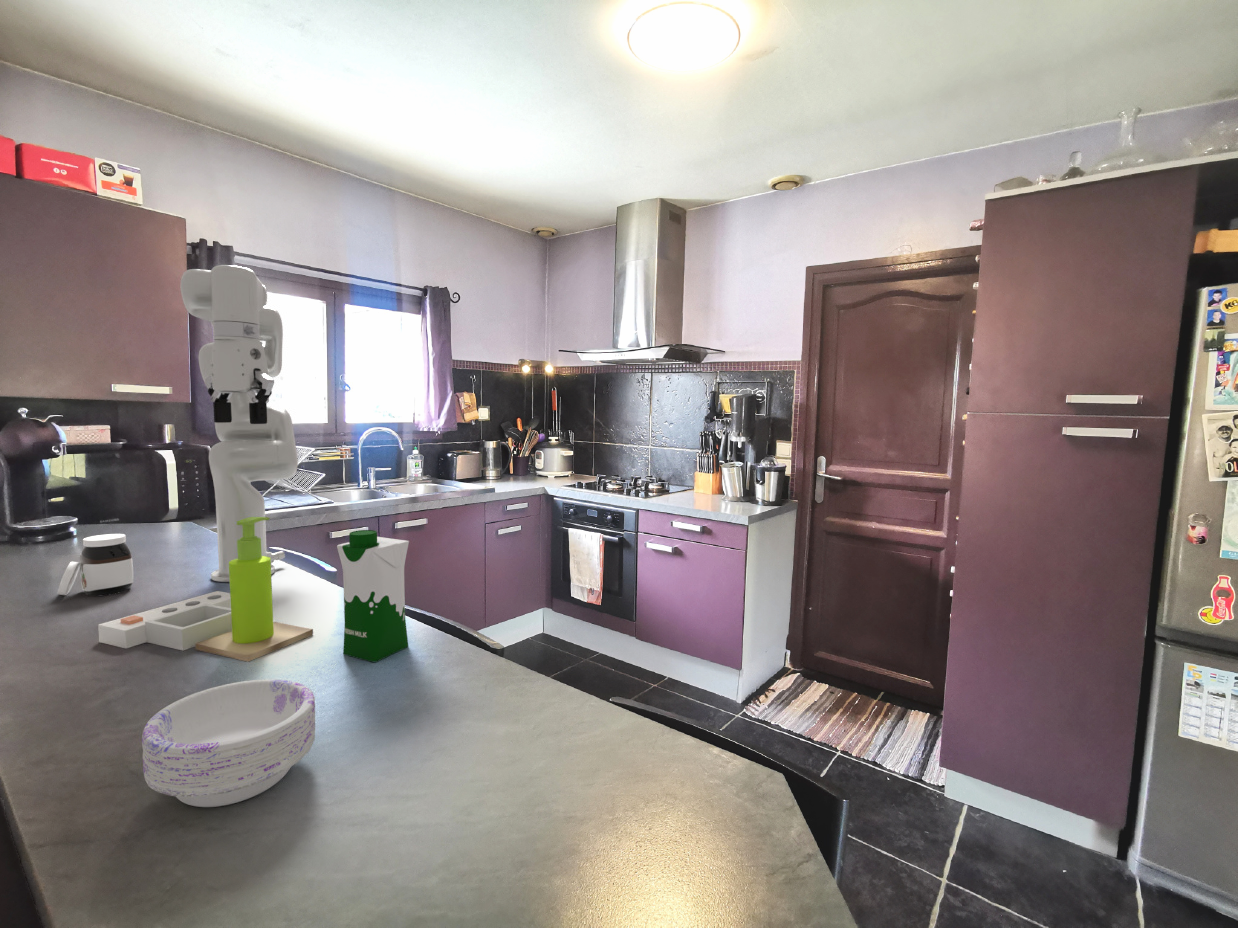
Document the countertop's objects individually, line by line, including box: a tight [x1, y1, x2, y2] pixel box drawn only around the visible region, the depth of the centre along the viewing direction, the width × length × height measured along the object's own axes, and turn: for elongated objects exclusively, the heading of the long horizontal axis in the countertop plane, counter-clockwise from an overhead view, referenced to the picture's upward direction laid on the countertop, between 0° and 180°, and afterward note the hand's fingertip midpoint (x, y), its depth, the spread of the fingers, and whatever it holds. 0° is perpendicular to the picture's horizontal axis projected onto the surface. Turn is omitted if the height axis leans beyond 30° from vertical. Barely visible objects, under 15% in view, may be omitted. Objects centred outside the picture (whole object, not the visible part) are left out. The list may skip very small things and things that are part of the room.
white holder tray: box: [97, 590, 232, 652], centre depth 105 cm, size 20×16×4 cm
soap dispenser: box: [229, 516, 274, 644], centre depth 99 cm, size 6×7×20 cm
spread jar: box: [57, 533, 134, 597], centre depth 124 cm, size 12×11×12 cm
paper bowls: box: [141, 678, 316, 808], centre depth 63 cm, size 15×15×8 cm
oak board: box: [194, 621, 314, 662], centre depth 99 cm, size 12×12×1 cm
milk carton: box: [336, 529, 410, 663], centre depth 96 cm, size 9×9×20 cm
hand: (240, 423), depth 115 cm, fingers open, 9 cm apart
